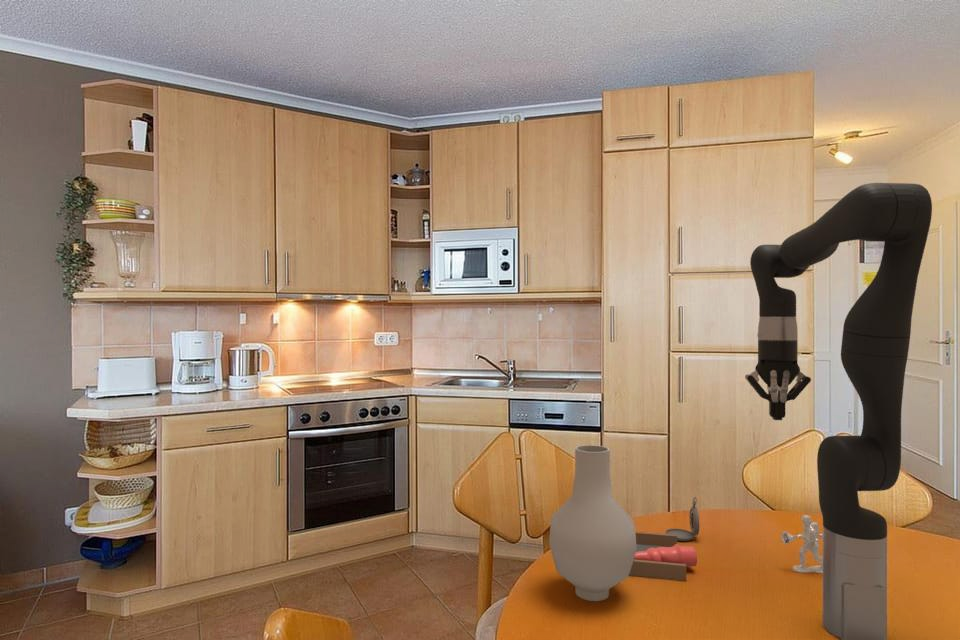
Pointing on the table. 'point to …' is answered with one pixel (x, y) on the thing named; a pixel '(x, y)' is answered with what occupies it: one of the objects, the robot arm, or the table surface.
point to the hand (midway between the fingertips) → (777, 419)
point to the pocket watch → (694, 525)
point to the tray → (654, 567)
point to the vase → (592, 529)
